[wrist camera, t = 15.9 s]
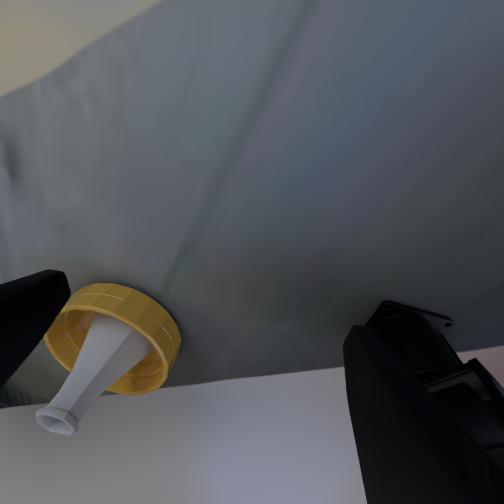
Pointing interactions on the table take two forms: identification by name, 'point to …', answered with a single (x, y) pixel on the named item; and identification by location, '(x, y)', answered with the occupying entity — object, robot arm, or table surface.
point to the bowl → (129, 311)
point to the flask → (94, 371)
